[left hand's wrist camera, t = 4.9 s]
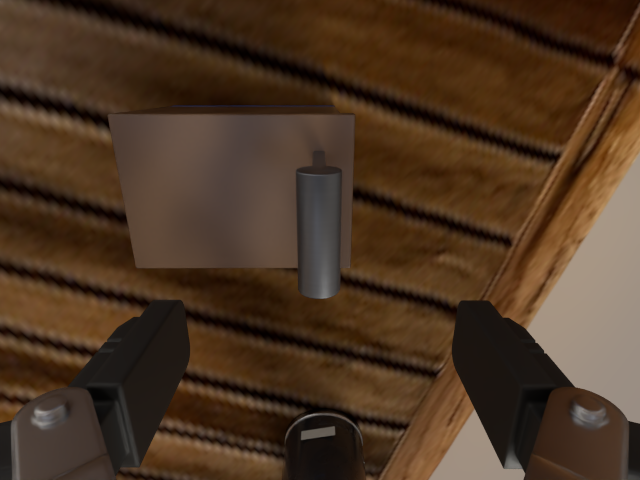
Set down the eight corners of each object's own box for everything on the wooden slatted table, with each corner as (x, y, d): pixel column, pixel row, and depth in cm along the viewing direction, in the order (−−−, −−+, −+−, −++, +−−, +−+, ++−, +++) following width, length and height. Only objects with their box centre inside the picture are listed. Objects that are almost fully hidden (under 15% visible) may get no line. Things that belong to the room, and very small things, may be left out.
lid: (354, 113, 24) (371, 125, 16) (349, 262, 28) (362, 334, 20) (114, 113, 24) (11, 125, 16) (141, 262, 28) (68, 334, 20)
